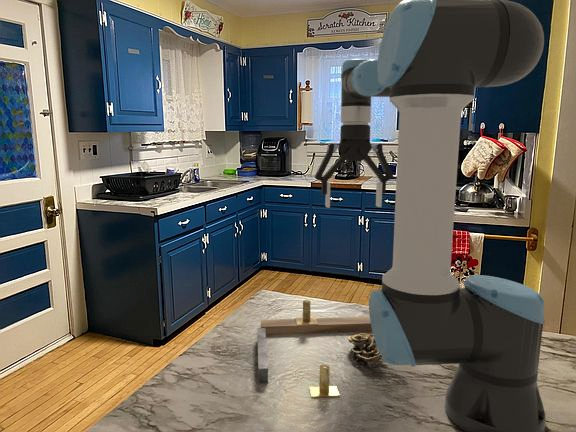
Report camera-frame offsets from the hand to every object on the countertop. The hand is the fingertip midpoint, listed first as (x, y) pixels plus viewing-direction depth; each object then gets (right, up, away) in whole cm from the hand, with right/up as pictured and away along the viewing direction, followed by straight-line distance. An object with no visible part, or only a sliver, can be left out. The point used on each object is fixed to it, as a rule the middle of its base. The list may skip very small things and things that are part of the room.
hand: (353, 206), depth 116 cm
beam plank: (-9, -30, -9) cm, 32 cm away
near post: (-10, -35, -36) cm, 51 cm away
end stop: (-22, -33, -24) cm, 46 cm away
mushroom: (0, -33, -22) cm, 39 cm away
